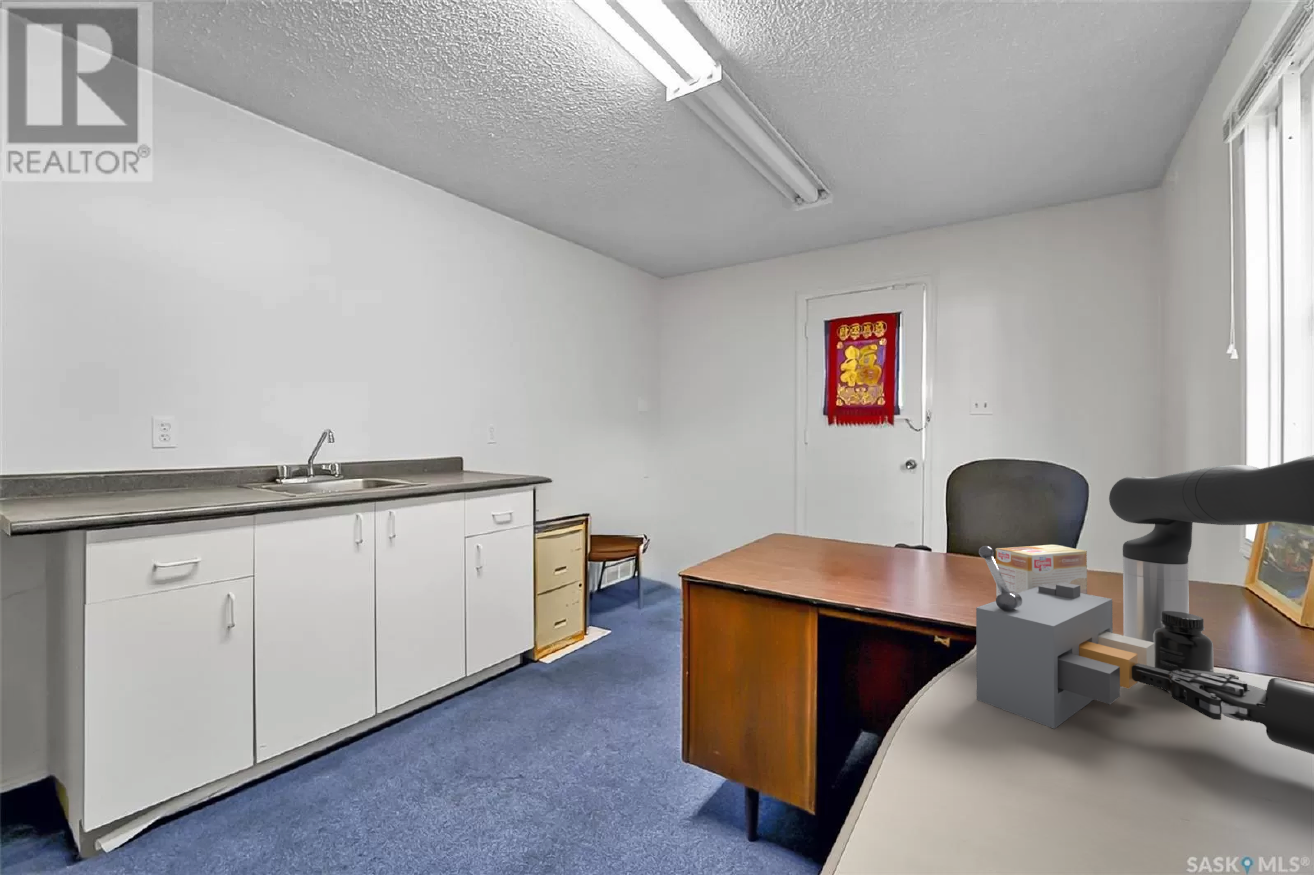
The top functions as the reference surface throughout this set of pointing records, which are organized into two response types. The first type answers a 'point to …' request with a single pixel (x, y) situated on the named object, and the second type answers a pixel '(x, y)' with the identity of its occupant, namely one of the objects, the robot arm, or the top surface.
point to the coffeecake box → (1041, 567)
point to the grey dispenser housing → (1036, 650)
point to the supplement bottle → (1182, 643)
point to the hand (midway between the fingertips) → (1133, 671)
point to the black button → (1089, 677)
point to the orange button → (1112, 659)
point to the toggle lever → (1000, 582)
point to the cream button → (1130, 646)
